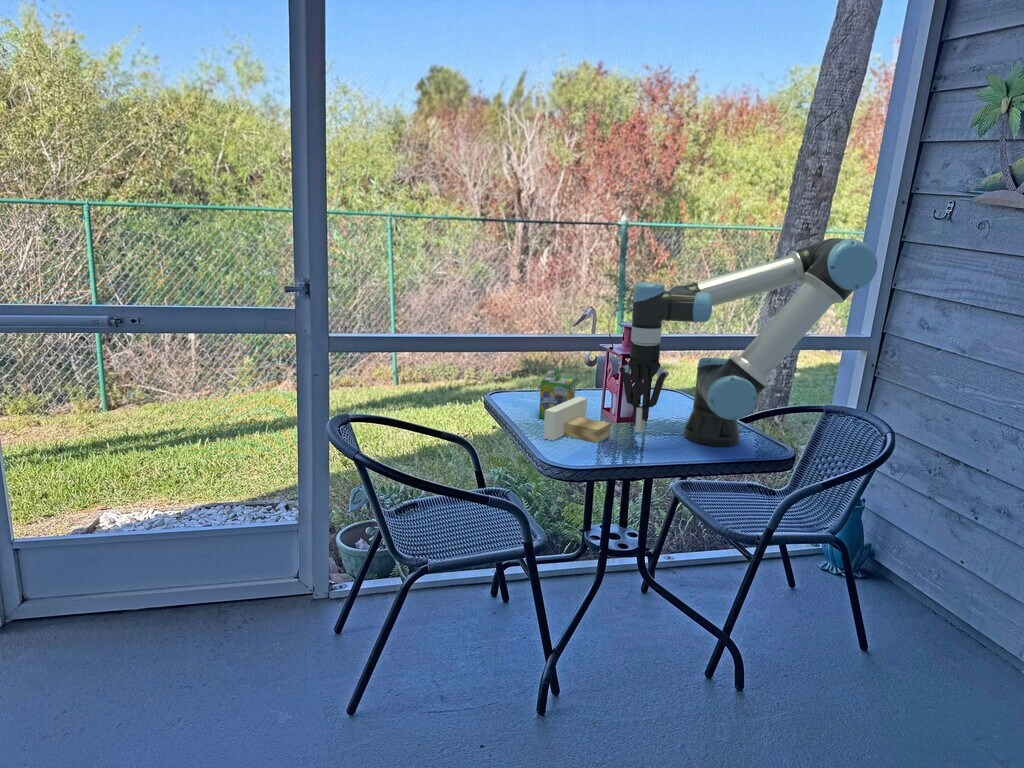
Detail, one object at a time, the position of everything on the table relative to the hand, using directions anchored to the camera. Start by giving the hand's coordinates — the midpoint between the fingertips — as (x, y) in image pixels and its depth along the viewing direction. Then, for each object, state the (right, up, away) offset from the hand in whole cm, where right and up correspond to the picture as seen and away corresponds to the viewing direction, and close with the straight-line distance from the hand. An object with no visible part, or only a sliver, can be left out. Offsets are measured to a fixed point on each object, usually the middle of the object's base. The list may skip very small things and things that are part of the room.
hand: (639, 430), depth 195 cm
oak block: (-13, -2, +9) cm, 16 cm away
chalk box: (-20, +2, +26) cm, 33 cm away
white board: (-19, -1, +11) cm, 22 cm away
